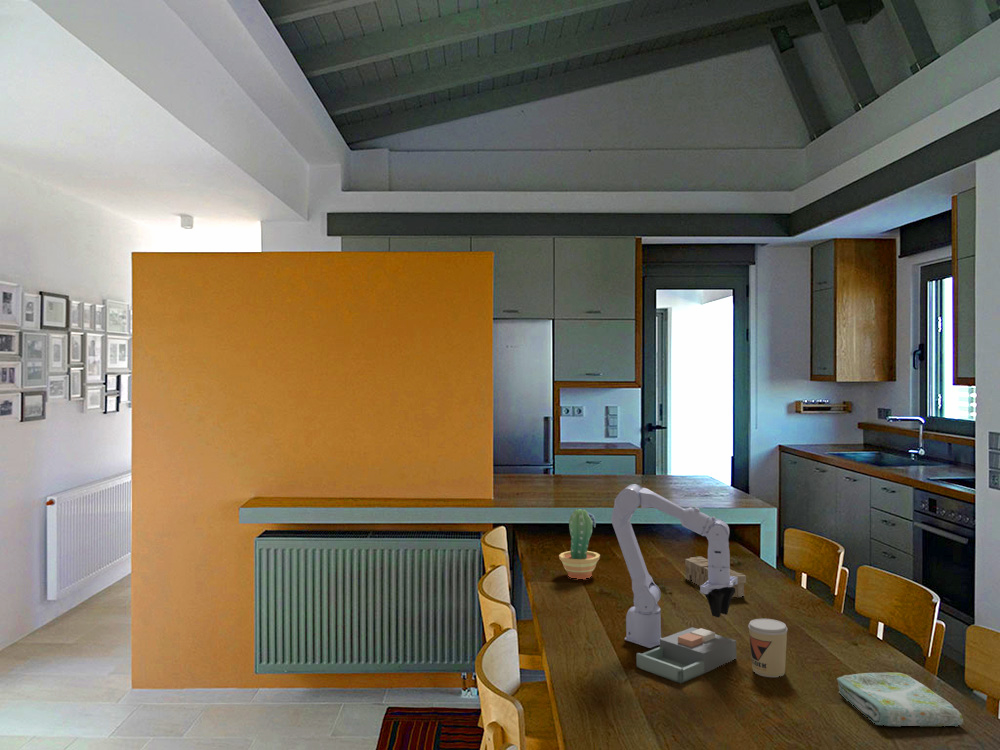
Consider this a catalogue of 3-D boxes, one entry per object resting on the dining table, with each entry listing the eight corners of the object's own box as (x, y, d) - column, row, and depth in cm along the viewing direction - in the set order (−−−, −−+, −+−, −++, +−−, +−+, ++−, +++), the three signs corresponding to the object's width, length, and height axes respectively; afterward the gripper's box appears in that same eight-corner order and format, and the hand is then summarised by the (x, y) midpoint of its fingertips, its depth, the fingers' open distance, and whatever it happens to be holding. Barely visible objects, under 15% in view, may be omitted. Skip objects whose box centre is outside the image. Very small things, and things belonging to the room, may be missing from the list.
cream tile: (690, 637, 204) (690, 632, 204) (701, 633, 206) (700, 628, 206) (704, 642, 200) (704, 636, 200) (715, 637, 203) (715, 632, 203)
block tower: (683, 581, 280) (725, 601, 252) (682, 558, 280) (724, 575, 252) (702, 579, 282) (747, 598, 254) (701, 556, 282) (746, 573, 254)
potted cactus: (602, 581, 277) (601, 513, 277) (560, 582, 278) (559, 513, 278) (598, 570, 293) (596, 505, 293) (558, 571, 293) (556, 506, 293)
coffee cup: (741, 667, 195) (740, 621, 195) (770, 662, 198) (770, 616, 198) (766, 681, 186) (765, 632, 186) (796, 675, 190) (795, 627, 190)
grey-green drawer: (636, 667, 197) (636, 653, 197) (660, 657, 203) (660, 644, 203) (680, 683, 186) (680, 669, 186) (704, 673, 192) (704, 659, 192)
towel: (908, 689, 181) (907, 667, 181) (965, 730, 160) (964, 706, 160) (832, 691, 181) (832, 670, 181) (880, 733, 159) (879, 709, 159)
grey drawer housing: (660, 657, 203) (659, 639, 203) (692, 645, 212) (692, 627, 212) (704, 673, 192) (703, 653, 192) (736, 659, 201) (736, 640, 201)
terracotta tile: (677, 642, 200) (677, 636, 200) (688, 638, 203) (688, 632, 203) (692, 647, 197) (691, 641, 197) (702, 642, 199) (702, 637, 199)
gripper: (715, 573, 200) (716, 624, 200) (746, 563, 209) (747, 612, 210) (693, 568, 206) (694, 618, 206) (724, 558, 215) (725, 606, 215)
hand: (719, 615), depth 208 cm, fingers open, 3 cm apart
